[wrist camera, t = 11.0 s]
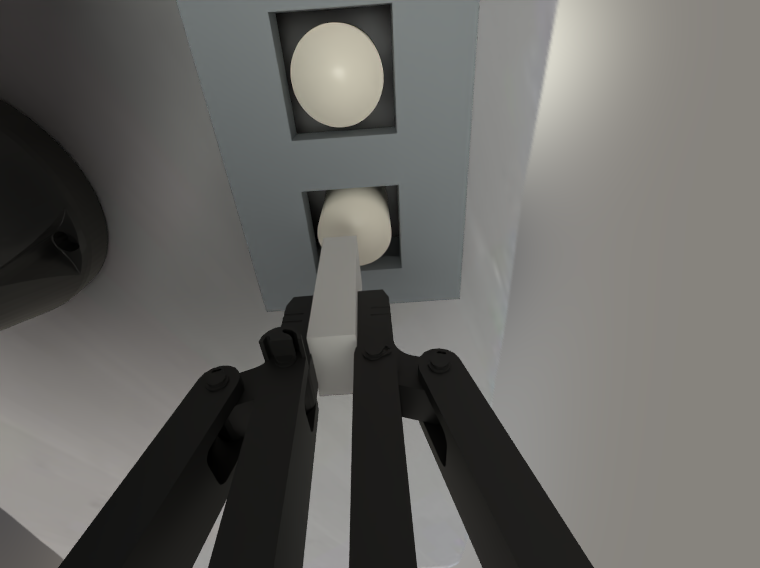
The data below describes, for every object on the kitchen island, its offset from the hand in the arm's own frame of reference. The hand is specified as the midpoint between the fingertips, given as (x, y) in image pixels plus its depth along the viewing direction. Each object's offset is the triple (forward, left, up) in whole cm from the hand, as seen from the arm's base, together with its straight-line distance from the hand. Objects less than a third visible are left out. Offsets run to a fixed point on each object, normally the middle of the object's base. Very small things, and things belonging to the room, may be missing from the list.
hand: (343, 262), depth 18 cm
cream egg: (+4, +6, -8) cm, 11 cm away
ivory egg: (0, 0, -8) cm, 8 cm away
